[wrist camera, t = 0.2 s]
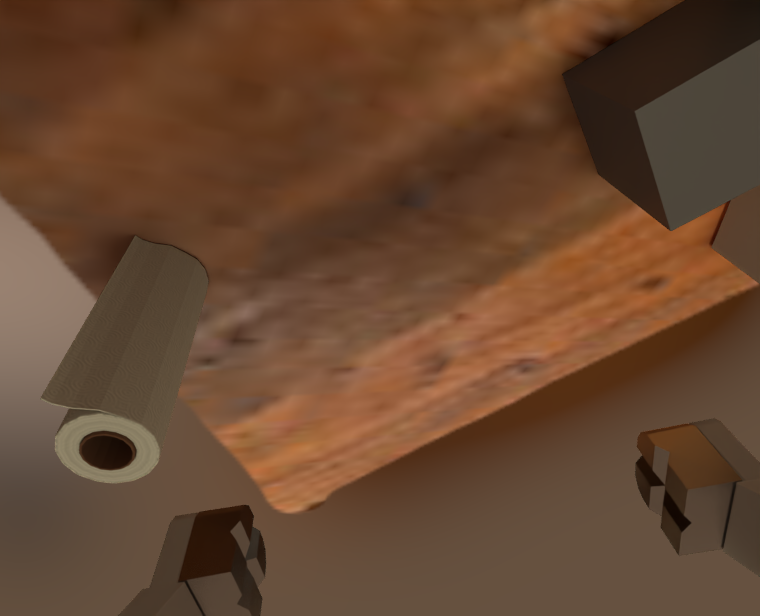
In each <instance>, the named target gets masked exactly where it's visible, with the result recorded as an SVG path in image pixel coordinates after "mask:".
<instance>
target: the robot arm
mask: <svg viewBox="0 0 760 616" xmlns="http://www.w3.org/2000/svg"><path fill="white" fill-rule="evenodd" d="M637 448H638V449H639V451H640V452H641V454H642V456H641V457H640V459H638V461H637V462H636V465H635V476H636V481H637V485H638V489H639V491H640V493H641V496H642V498H643V500H644V501H645V503H646V505H647V506H648V508H649V509H650V510H652V511H654V512H655V513H657V514H659V515H660V516H662V517H661V529H662V530H663V532H664V533H665V535H666V536H667V538H668V540H669V541H670V543H671V544H672V546H673V548H674V549H675V550H676V552H677V554H678V555H679V556H680V555H687V554H693V553H700V552H707V551H714V550H720V549H723V552H725V553H726V554H728V555H729V556H730V557H732V558H733V559H735V560H736V561H738V562H739V563H740V564H742V565H743V566H745V567H746V568H748V569H749V570H751V571H752V572H754V573H755V574H756V575H758V576H759V577H760V462H759V461H758V460H757V459H756V458H755V457H754V456H753V455H752V454H751V453H750V452H749V451H748V450H747V449H746V448H745V446H743V445H742V443H741V442H740V441H739V440H738V439H737V438H736V437H735V436H734V435H733V434H732V433H731V432H730V431H729V430H728V429H727V428H726V427H725V425H724V424H723V423H722V422H721V421H719V420H717V419H715V418H713V419H708V420H703V421H698V422H692V423H689V424H682V425H677V426H671V427H666V428H661V429H656V430H651V431H645V432H641V433H640V434H639V436H638V439H637ZM253 519H254V515H253V513H252V511H251V509H250V507H249V505H240V506H234V507H228V508H221V509H215V510H208V511H202V512H198V513H191V514H185V515H179V516H175V517H174V519H173V520H172V521H171V523H170V525H169V528H168V531H167V534H166V538H165V541H164V544H163V547H162V550H161V553H160V556H159V560H158V563H157V566H156V569H155V572H154V575H153V579H152V582H151V585H150V588H146V589H142V590H141V591H140V592H139V593H138V595H137V596H136V597H135V598H134V599H133V600H132V601H131V602H130V603H129V604H128V605H127V606H126V608H125V609H124V610H123V611H122V612H121V613H120V614H119V615H118V616H260V614H261V606H262V596H261V594H260V592H259V589H258V586H259V585H260V584H261V582H262V581H263V579H264V578H265V572H266V551H265V546H264V541H263V538H262V535H261V533H260V531H259V530H258V529H256V528H254V527H252V526H253Z"/></svg>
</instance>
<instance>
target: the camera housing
mask: <svg viewBox="0 0 760 616" xmlns="http://www.w3.org/2000/svg"><path fill="white" fill-rule="evenodd" d="M562 75H563V78H564V81H565V84H566V86H567V89H568V92H569V95H570V97H571V100H572V103H573V105H574V108H575V111H576V114H577V116H578V119H579V122H580V125H581V127H582V130H583V133H584V136H585V138H586V141H587V144H588V147H589V149H590V152H591V155H592V158H593V160H594V163H595V166H596V169H597V171H598V174H599V175H600V176H601V177H602V178H604V179H605V180H606V181H608V182H609V183H610V184H611V185H613V186H614V187H615V188H616V189H618V190H619V191H620V192H621V193H623V194H624V195H625V196H627V197H628V198H629V199H630V200H632V201H633V202H634V203H635V204H637V205H638V206H639V207H641V208H642V209H643V210H644V211H646V212H647V213H648V214H649V215H651V216H652V217H653V218H655V219H656V220H657V221H658V222H660V223H661V224H662V225H663V226H665V227H666V228H667V229H669V230H670V231H672V230H674V229H676V228H678V227H680V226H682V225H684V224H686V223H688V222H690V221H691V220H693V219H695V218H697V217H699V216H701V215H703V214H705V213H707V212H709V211H711V210H713V209H714V208H716V207H718V206H720V205H722V204H724V203H726V202H728V201H730V200H732V199H734V198H735V197H737V196H739V195H741V194H743V193H745V192H747V191H749V190H751V189H753V188H755V187H756V186H758V185H760V0H685V1H683V2H681V3H680V4H678V5H676V6H675V7H673V8H671V9H670V10H668V11H666V12H665V13H663V14H661V15H660V16H658V17H656V18H655V19H653V20H651V21H650V22H648V23H646V24H645V25H643V26H642V27H640V28H638V29H637V30H635V31H633V32H632V33H630V34H628V35H627V36H625V37H623V38H622V39H620V40H618V41H617V42H615V43H613V44H612V45H610V46H608V47H607V48H605V49H603V50H602V51H600V52H599V53H597V54H595V55H594V56H592V57H590V58H589V59H587V60H585V61H584V62H582V63H580V64H579V65H577V66H575V67H574V68H572V69H570V70H569V71H567V72H565V73H564V74H562Z"/></svg>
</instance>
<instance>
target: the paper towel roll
mask: <svg viewBox="0 0 760 616" xmlns="http://www.w3.org/2000/svg"><path fill="white" fill-rule="evenodd" d="M208 282H209V281H208V277H207V274H206V270H205V268H204V267H203V266H202V265H201V263H200V262H199V261H198V260H197V259H196V258H194V257H192V256H190V255H188V254H187V253H185V252H183V251H181V250H179V249H177V248H175V247H173V246H170V245H162V244H155V243H151V242H148V241H145V240H142V239H141V238H139V237H137V236H136V235H135V237H134V238H133V240H132V242H131V244H130V245H129V247H128V249H127V250H126V252H125V254H124V256H123V257H122V259H121V261H120V262H119V264H118V266H117V268H116V269H115V271H114V273H113V274H112V276H111V278H110V280H109V281H108V283H107V285H106V286H105V288H104V290H103V292H102V293H101V295H100V297H99V298H98V300H97V302H96V304H95V305H94V307H93V309H92V311H91V312H90V314H89V316H88V317H87V319H86V321H85V323H84V324H83V326H82V328H81V329H80V331H79V333H78V335H77V336H76V338H75V340H74V341H73V343H72V345H71V347H70V348H69V350H68V352H67V353H66V355H65V357H64V359H63V360H62V362H61V364H60V365H59V367H58V369H57V371H56V372H55V374H54V376H53V377H52V379H51V381H50V383H49V384H48V386H47V388H46V390H45V391H44V393H43V395H42V396H41V398H40V399H41V400H43V401H46V402H48V403H50V404H53V405H58V406H62V407H66V408H69V410H68V412H67V414H66V416H65V418H64V420H63V422H62V424H61V426H60V428H59V430H58V431H57V434H56V436H55V451H56V453H57V455H58V457H59V458H60V460H61V461H62V463H63V464H64V465H65V466H66V467H68V468H69V469H71V470H72V471H73V472H74V473H76V474H77V475H80V476H83V477H85V478H88V479H91V480H93V481H98V482H107V483H121V482H128V481H134V480H136V479H138V478H140V477H142V476H145V475H147V474H148V473H149V472H150V471H151V470H152V469H153V468H154V467H155V466H156V464H157V463H158V462H159V459H160V455H161V452H162V448H163V444H164V441H165V437H166V434H167V430H168V427H169V423H170V420H171V416H172V413H173V409H174V405H175V402H176V398H177V395H178V391H179V388H180V384H181V381H182V377H183V374H184V370H185V367H186V363H187V360H188V356H189V352H190V349H191V345H192V342H193V338H194V335H195V331H196V328H197V324H198V321H199V317H200V314H201V310H202V307H203V303H204V299H205V296H206V292H207V287H208Z"/></svg>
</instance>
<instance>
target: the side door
mask: <svg viewBox="0 0 760 616" xmlns="http://www.w3.org/2000/svg"><path fill="white" fill-rule="evenodd" d="M712 249H714V250H715V251H716V252H718V253H719V254H720V255H722V256H723V257H724V258H726V259H727V260H728V261H730V262H731V263H732V264H734V265H735V266H737V267H738V268H739V269H741V270H742V271H743V272H745V273H746V274H747V275H749V276H750V277H751V278H753V279H754V280H755V281H757V282H758V283H759V284H760V185H758V186H756V187H755V188H753V189H751V190H749V191H747V192H745V193H743V194H741V195H739V196H737V197H735V198H734V199H732V200H731V201H730V204H729V206H728V209H727V211H726V214H725V216H724V218H723V221H722V223H721V226H720V228H719V231H718V233H717V235H716V238H715V240H714V243H713V245H712Z"/></svg>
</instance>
